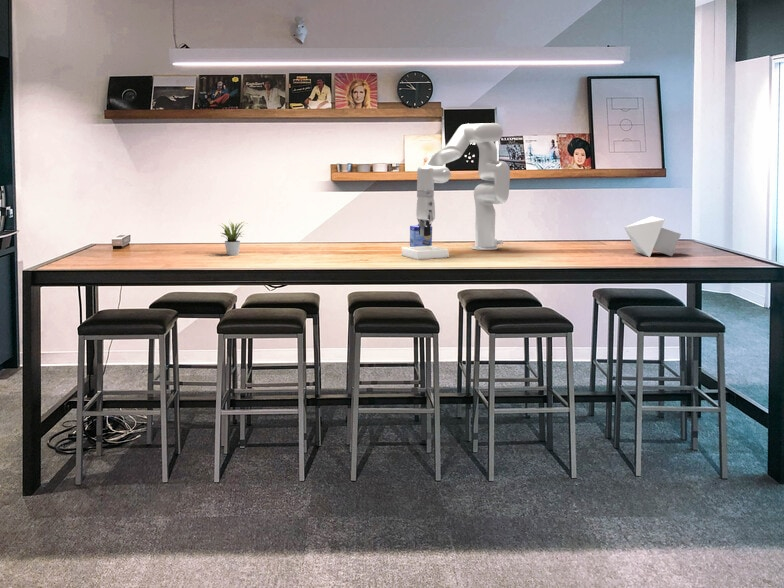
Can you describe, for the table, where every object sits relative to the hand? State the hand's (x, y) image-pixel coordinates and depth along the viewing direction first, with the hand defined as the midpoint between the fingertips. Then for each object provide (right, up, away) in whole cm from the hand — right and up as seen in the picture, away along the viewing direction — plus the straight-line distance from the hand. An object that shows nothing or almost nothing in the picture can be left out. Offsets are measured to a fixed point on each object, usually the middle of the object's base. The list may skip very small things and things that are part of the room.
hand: (424, 234), depth 363 cm
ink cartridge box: (-1, -7, +21) cm, 22 cm away
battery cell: (0, -1, 0) cm, 1 cm away
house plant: (-87, -9, +10) cm, 88 cm away
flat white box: (0, -10, +2) cm, 10 cm away
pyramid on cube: (+104, -9, +7) cm, 104 cm away
